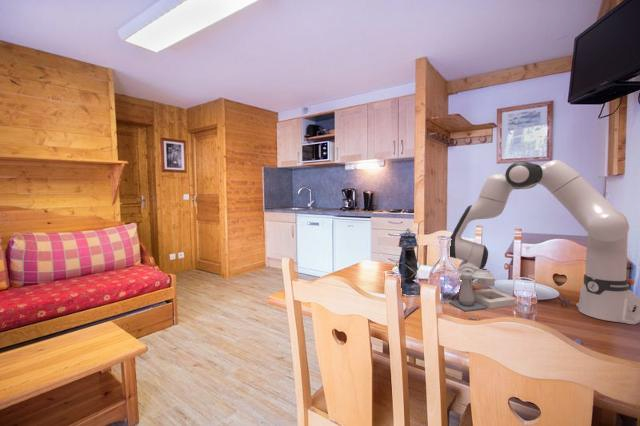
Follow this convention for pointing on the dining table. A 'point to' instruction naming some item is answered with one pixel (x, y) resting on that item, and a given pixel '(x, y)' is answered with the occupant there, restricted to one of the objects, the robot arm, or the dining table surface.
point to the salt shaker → (466, 290)
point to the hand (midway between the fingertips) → (466, 283)
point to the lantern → (408, 264)
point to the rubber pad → (467, 308)
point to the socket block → (499, 300)
